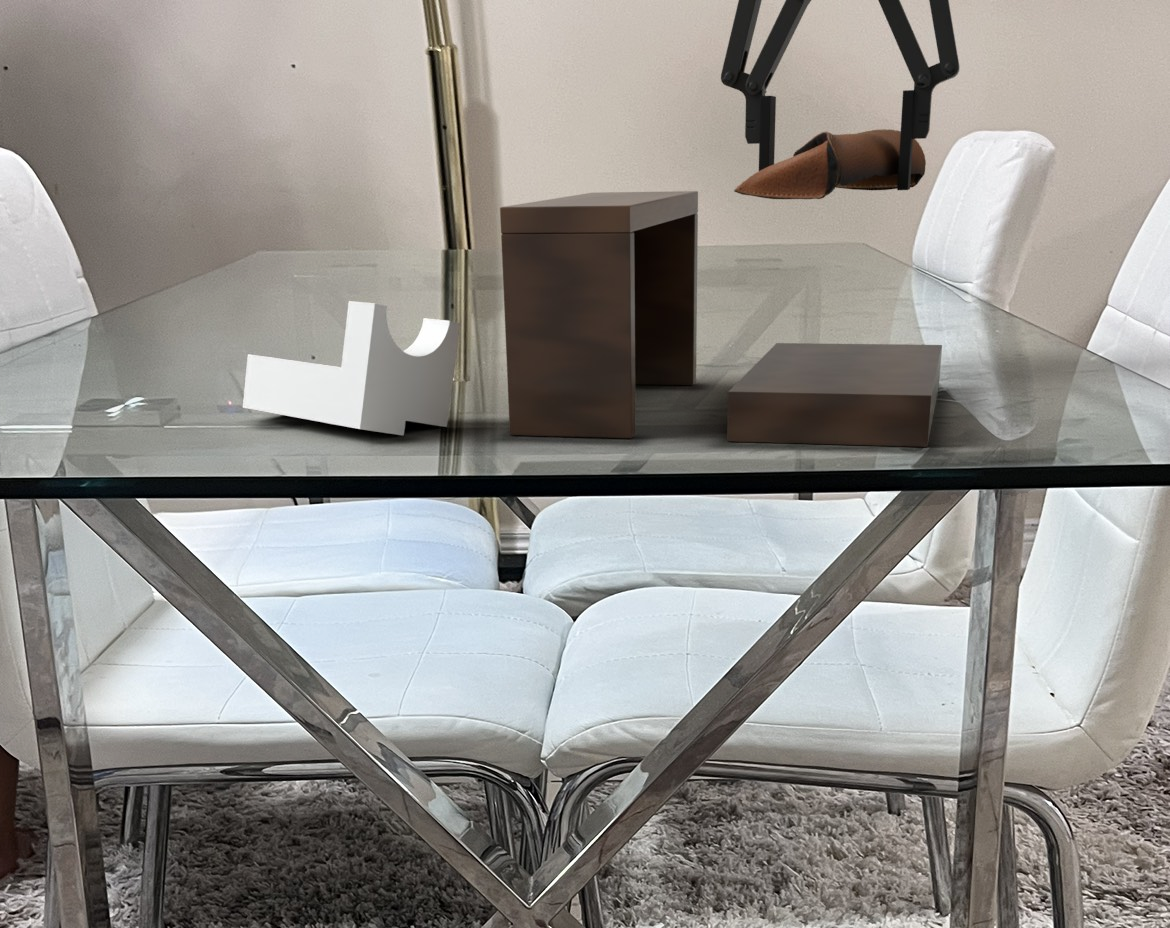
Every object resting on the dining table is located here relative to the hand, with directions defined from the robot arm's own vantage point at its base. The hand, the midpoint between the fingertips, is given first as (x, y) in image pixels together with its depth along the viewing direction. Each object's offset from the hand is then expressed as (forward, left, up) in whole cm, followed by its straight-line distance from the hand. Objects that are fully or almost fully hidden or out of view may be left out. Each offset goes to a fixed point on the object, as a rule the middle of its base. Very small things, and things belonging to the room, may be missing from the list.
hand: (833, 191), depth 104 cm
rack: (+4, +17, -13) cm, 22 cm away
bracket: (+29, +25, -13) cm, 40 cm away
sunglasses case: (0, 0, 0) cm, 0 cm away
